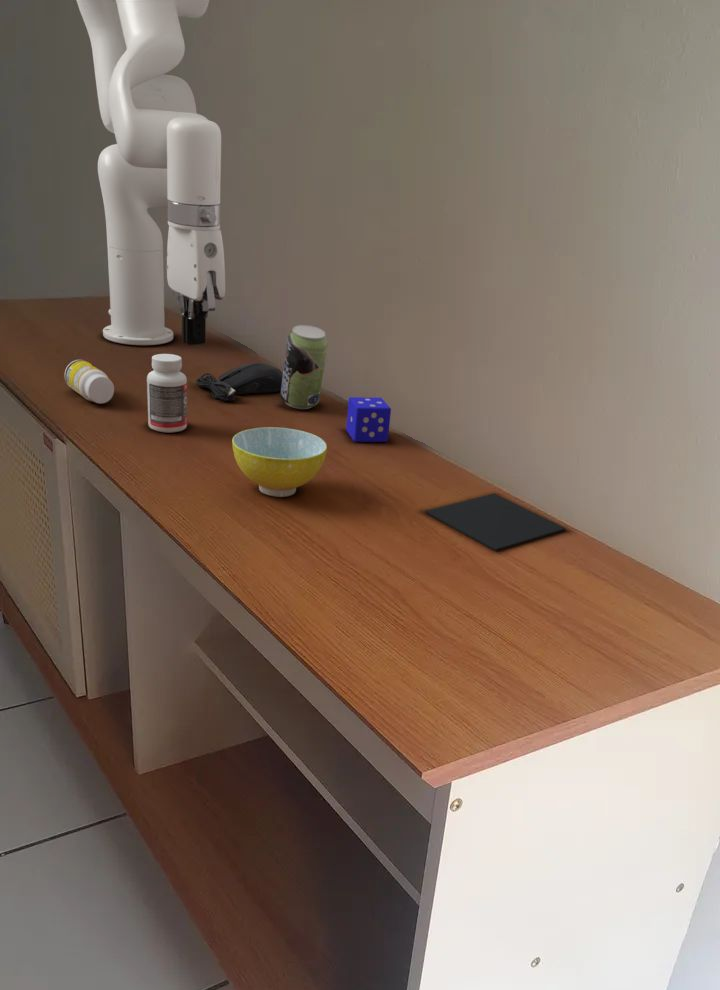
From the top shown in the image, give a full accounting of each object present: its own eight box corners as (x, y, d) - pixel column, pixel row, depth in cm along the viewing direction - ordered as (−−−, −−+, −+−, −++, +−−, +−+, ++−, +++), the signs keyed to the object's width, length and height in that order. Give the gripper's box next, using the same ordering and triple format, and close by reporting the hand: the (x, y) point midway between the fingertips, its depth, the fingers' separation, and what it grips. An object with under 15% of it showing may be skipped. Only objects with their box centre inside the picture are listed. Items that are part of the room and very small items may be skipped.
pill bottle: (193, 431, 131) (193, 361, 126) (157, 435, 129) (155, 363, 124) (177, 419, 135) (176, 350, 130) (142, 423, 132) (139, 353, 127)
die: (346, 430, 137) (348, 396, 135) (378, 430, 139) (382, 397, 136) (354, 442, 133) (357, 407, 131) (387, 442, 134) (391, 408, 132)
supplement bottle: (99, 379, 144) (122, 395, 138) (73, 396, 143) (96, 413, 137) (84, 352, 140) (107, 368, 135) (57, 369, 139) (80, 385, 134)
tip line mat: (425, 512, 114) (425, 510, 113) (494, 495, 120) (494, 493, 120) (495, 551, 106) (496, 549, 106) (565, 530, 113) (565, 528, 112)
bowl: (304, 469, 122) (307, 423, 119) (337, 504, 113) (341, 455, 110) (220, 476, 118) (220, 428, 115) (247, 512, 109) (248, 461, 106)
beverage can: (301, 397, 149) (305, 319, 143) (332, 410, 145) (338, 330, 139) (270, 403, 145) (273, 323, 139) (302, 416, 141) (306, 335, 135)
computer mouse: (302, 394, 151) (304, 370, 149) (222, 404, 143) (223, 379, 141) (269, 377, 158) (270, 354, 156) (191, 385, 150) (191, 361, 148)
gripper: (243, 224, 133) (240, 354, 143) (190, 206, 143) (190, 329, 153) (197, 225, 129) (197, 358, 139) (146, 206, 139) (149, 332, 148)
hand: (193, 342), depth 146 cm, fingers closed
